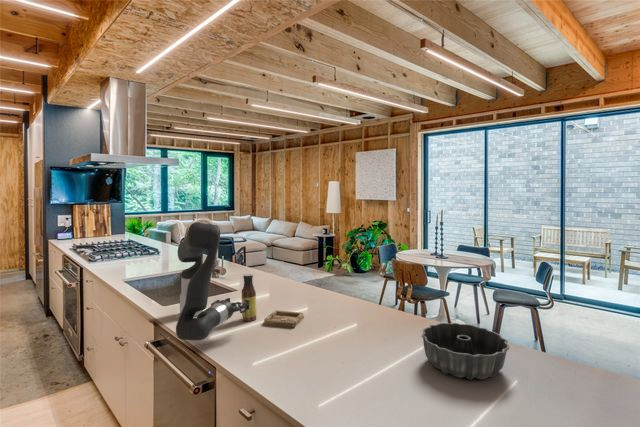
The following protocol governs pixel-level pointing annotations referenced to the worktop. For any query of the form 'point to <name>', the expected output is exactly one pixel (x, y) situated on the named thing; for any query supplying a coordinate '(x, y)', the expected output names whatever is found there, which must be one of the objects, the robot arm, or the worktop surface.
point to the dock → (283, 319)
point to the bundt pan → (465, 350)
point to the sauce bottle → (249, 298)
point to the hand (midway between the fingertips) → (238, 301)
